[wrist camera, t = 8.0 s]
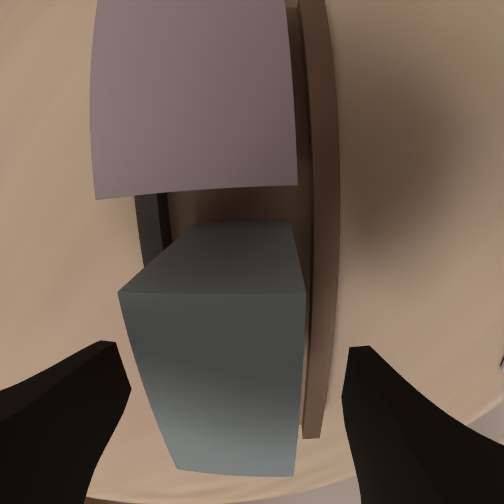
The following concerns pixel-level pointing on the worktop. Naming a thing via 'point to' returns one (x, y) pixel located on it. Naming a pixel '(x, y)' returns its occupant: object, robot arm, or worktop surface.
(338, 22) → the worktop surface
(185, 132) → the box
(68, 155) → the worktop surface
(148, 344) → the box
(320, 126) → the shelf ledge
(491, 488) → the robot arm
